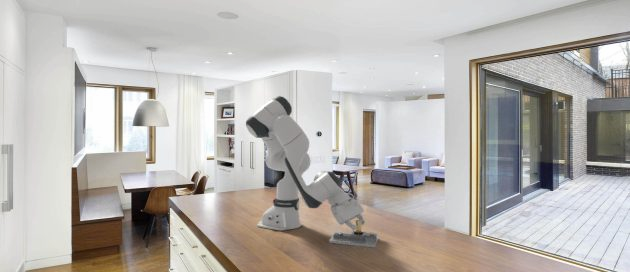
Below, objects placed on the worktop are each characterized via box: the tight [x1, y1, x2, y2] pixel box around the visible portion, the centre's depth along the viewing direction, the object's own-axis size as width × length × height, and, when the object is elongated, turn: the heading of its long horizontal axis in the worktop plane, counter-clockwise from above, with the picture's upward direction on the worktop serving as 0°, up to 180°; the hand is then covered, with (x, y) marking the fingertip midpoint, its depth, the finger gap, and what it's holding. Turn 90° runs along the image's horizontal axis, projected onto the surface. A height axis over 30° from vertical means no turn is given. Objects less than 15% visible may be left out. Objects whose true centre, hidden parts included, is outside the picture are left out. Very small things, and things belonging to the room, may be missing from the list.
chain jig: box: [328, 230, 379, 248], centre depth 150 cm, size 20×12×4 cm, turn 73°
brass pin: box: [355, 219, 362, 235], centre depth 150 cm, size 2×2×8 cm
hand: (359, 226), depth 149 cm, fingers open, 8 cm apart
